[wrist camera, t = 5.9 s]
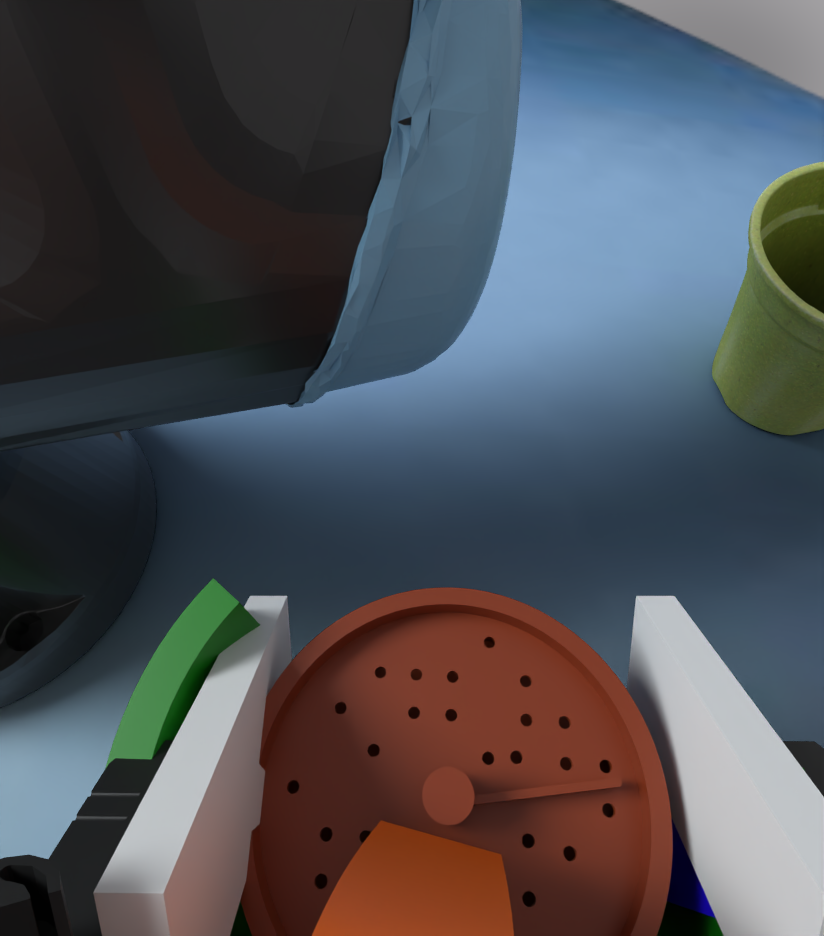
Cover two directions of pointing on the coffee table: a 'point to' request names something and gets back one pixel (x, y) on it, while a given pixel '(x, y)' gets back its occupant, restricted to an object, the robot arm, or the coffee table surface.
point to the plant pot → (779, 312)
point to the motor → (440, 776)
